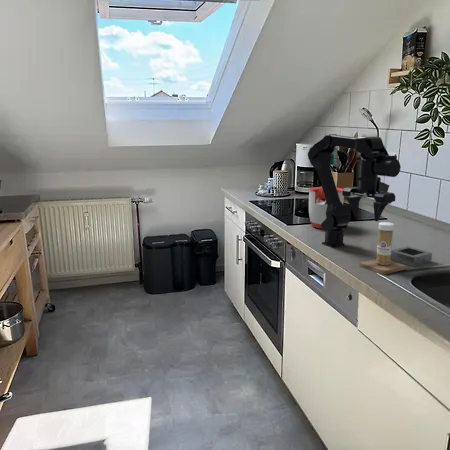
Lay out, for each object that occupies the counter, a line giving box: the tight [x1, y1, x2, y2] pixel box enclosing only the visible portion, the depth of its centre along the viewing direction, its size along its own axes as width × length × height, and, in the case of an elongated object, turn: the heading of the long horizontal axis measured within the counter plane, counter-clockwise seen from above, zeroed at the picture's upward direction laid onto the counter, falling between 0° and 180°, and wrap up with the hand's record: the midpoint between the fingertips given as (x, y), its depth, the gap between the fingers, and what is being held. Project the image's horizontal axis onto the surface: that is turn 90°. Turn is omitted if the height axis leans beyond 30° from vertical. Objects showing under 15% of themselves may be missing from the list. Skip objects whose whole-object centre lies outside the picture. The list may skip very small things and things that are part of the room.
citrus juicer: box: [308, 186, 345, 229], centre depth 190 cm, size 16×17×20 cm
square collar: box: [390, 245, 433, 267], centre depth 145 cm, size 9×9×3 cm
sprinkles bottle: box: [376, 221, 395, 265], centre depth 137 cm, size 5×5×13 cm
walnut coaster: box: [358, 257, 407, 276], centre depth 138 cm, size 10×10×1 cm
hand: (366, 218), depth 149 cm, fingers open, 9 cm apart
